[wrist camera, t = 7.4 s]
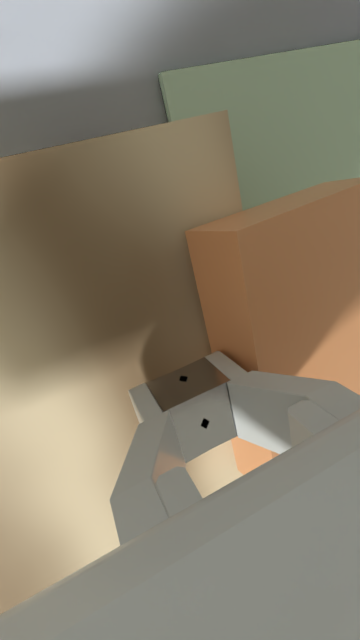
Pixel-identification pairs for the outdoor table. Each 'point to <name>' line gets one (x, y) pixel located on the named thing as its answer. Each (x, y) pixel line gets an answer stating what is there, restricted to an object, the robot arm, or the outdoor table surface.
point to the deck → (96, 327)
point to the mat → (279, 115)
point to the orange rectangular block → (284, 289)
